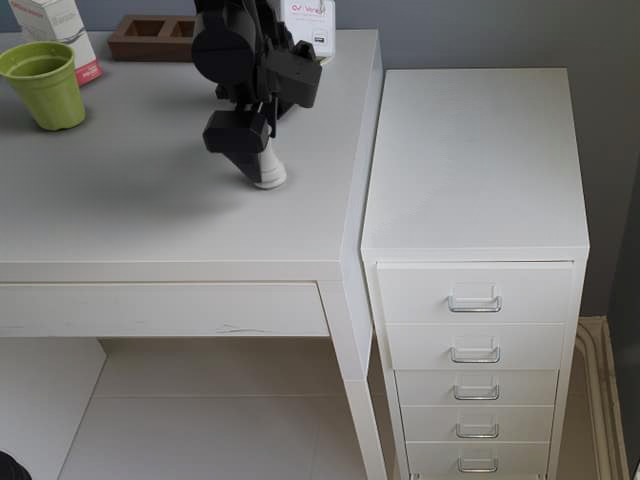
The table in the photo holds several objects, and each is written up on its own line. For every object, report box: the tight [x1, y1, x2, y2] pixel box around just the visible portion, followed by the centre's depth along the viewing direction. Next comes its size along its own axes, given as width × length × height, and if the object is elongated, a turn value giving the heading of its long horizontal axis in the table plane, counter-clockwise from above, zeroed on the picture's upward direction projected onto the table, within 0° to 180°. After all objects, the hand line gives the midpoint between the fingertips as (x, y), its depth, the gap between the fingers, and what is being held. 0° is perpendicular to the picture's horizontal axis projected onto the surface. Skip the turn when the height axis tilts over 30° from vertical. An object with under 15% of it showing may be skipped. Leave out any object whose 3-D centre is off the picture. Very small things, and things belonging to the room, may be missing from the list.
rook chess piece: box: [253, 125, 288, 190], centre depth 89 cm, size 4×4×8 cm
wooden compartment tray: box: [106, 13, 196, 63], centre depth 111 cm, size 9×15×3 cm, turn 90°
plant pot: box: [0, 41, 86, 131], centre depth 96 cm, size 9×9×9 cm
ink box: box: [7, 0, 103, 88], centre depth 103 cm, size 9×5×12 cm, turn 58°
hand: (264, 159), depth 90 cm, fingers open, 9 cm apart
